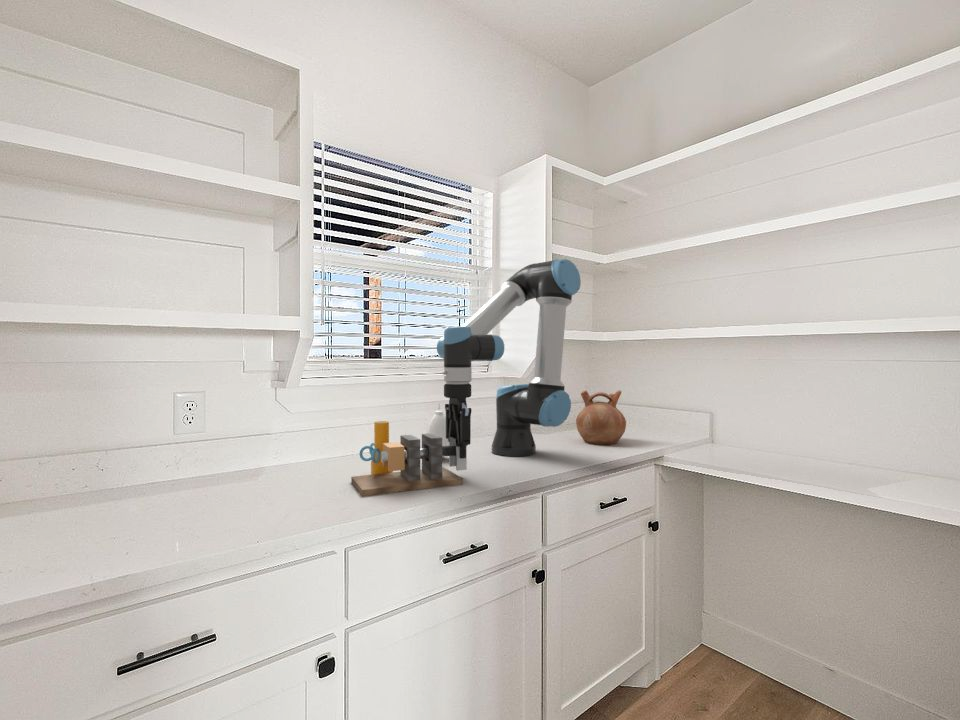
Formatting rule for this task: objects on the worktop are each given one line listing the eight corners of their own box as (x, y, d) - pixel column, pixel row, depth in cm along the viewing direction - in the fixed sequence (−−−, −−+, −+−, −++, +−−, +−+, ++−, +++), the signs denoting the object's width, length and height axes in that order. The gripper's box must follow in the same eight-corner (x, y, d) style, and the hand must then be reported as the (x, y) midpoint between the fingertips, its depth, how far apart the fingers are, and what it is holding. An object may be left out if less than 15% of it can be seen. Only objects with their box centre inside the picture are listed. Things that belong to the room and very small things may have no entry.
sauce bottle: (442, 462, 157) (442, 404, 157) (422, 459, 161) (422, 403, 161) (455, 457, 164) (455, 402, 164) (436, 455, 168) (436, 401, 168)
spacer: (397, 464, 134) (397, 442, 134) (404, 469, 129) (404, 446, 128) (382, 466, 133) (382, 443, 133) (389, 471, 127) (389, 447, 127)
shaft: (459, 460, 141) (459, 435, 141) (466, 464, 137) (465, 438, 137) (380, 468, 131) (379, 441, 131) (384, 472, 127) (384, 444, 127)
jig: (443, 472, 144) (443, 430, 144) (462, 484, 131) (462, 438, 131) (351, 482, 133) (351, 437, 133) (362, 496, 120) (362, 446, 120)
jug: (624, 439, 198) (624, 388, 198) (627, 447, 181) (627, 392, 180) (577, 437, 202) (577, 387, 202) (575, 445, 185) (575, 391, 184)
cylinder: (391, 482, 133) (391, 425, 133) (354, 480, 135) (354, 424, 135) (407, 471, 145) (407, 419, 145) (373, 469, 147) (373, 418, 147)
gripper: (433, 381, 144) (434, 462, 145) (457, 385, 128) (457, 476, 129) (458, 380, 147) (458, 460, 148) (483, 384, 131) (483, 473, 132)
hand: (457, 467), depth 138 cm, fingers open, 4 cm apart
